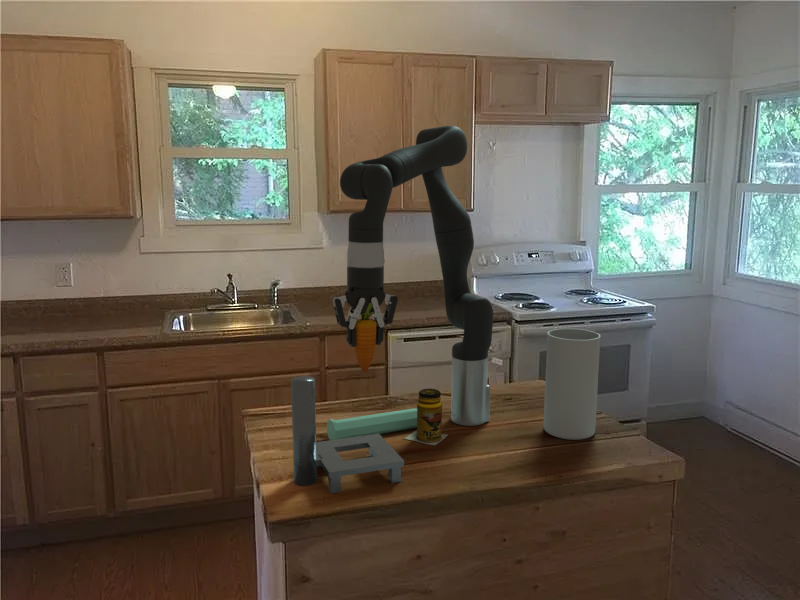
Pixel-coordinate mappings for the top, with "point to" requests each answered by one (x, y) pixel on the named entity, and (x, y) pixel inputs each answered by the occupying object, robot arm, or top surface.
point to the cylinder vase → (571, 383)
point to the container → (372, 424)
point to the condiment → (428, 418)
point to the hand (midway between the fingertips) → (364, 344)
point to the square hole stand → (332, 445)
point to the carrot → (365, 339)
